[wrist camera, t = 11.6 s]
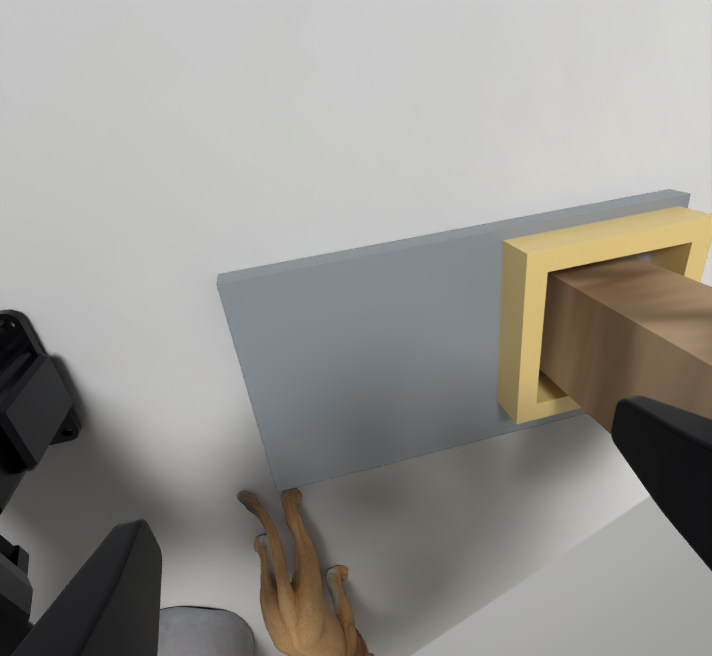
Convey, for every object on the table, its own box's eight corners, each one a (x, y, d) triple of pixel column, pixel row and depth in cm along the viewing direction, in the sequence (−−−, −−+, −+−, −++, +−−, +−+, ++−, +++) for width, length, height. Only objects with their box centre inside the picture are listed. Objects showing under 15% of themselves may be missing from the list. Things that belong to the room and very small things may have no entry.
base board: (275, 475, 25) (279, 523, 22) (218, 274, 19) (213, 304, 16) (628, 386, 28) (671, 418, 25) (669, 189, 22) (730, 202, 19)
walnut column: (529, 359, 23) (795, 602, 12) (542, 269, 21) (886, 464, 10) (613, 345, 24) (936, 559, 13) (635, 256, 22) (1050, 423, 11)
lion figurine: (388, 586, 32) (435, 746, 24) (323, 622, 32) (349, 792, 24) (278, 462, 24) (293, 631, 17) (195, 508, 25) (171, 698, 17)
